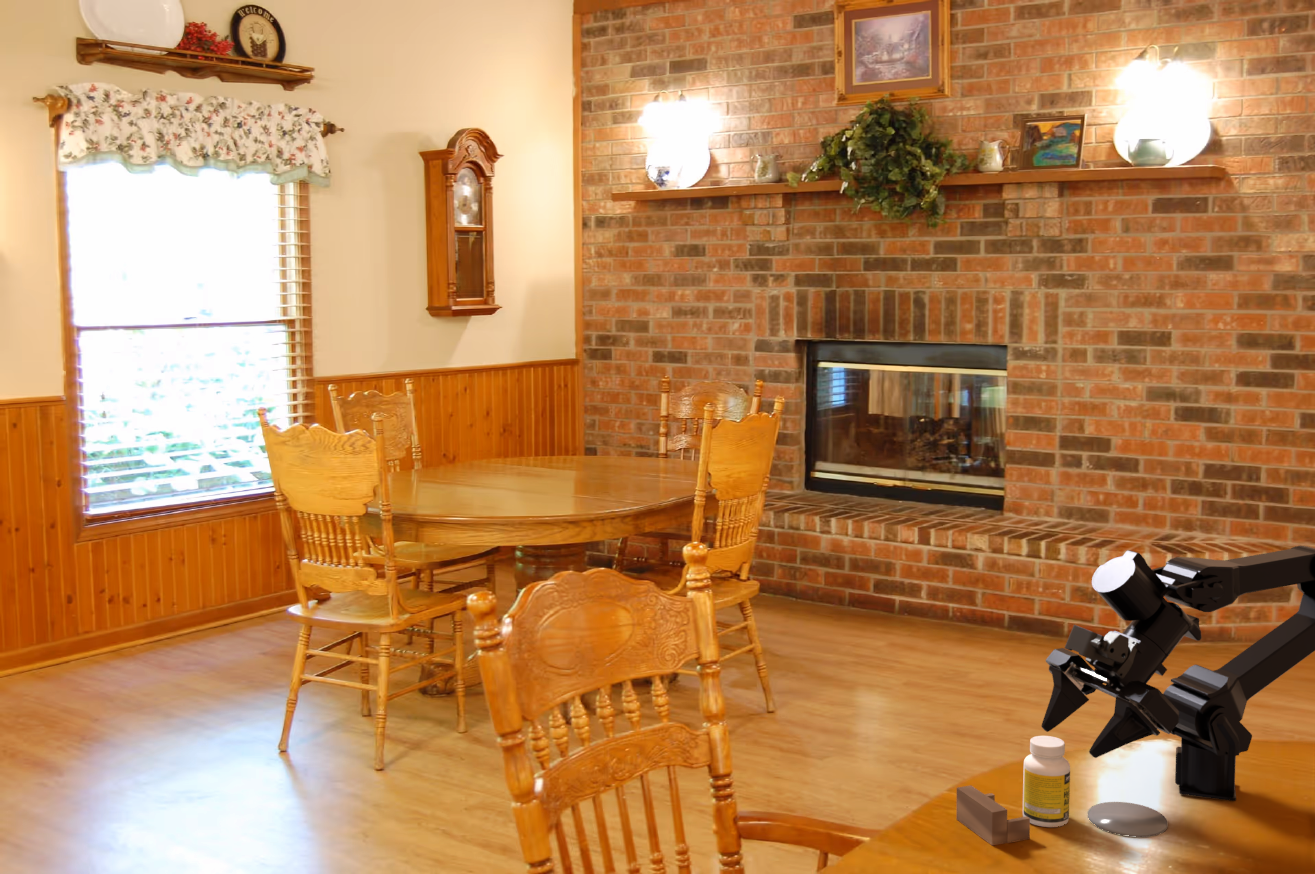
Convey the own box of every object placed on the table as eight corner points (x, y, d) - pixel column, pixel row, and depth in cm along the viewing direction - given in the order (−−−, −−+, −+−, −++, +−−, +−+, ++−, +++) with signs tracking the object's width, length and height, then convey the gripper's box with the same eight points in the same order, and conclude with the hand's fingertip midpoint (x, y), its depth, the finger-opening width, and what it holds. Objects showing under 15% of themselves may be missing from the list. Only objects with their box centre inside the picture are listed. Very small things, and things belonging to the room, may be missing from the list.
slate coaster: (1167, 810, 151) (1168, 807, 151) (1167, 841, 143) (1167, 838, 143) (1090, 800, 155) (1090, 797, 155) (1084, 830, 146) (1085, 827, 146)
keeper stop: (991, 812, 152) (991, 781, 151) (1029, 838, 145) (1029, 806, 144) (956, 818, 150) (956, 787, 150) (992, 845, 143) (992, 812, 143)
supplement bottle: (1072, 830, 147) (1073, 750, 145) (1024, 827, 148) (1025, 748, 147) (1066, 811, 152) (1067, 734, 151) (1020, 808, 153) (1021, 732, 152)
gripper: (1060, 585, 158) (983, 679, 156) (1161, 621, 140) (1077, 727, 138) (1109, 639, 161) (1035, 731, 159) (1215, 681, 144) (1133, 785, 142)
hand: (1067, 741), depth 150 cm, fingers open, 9 cm apart
